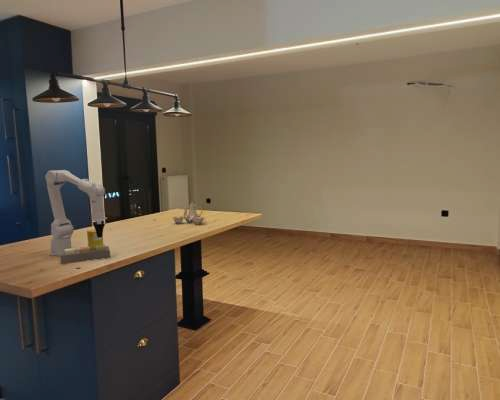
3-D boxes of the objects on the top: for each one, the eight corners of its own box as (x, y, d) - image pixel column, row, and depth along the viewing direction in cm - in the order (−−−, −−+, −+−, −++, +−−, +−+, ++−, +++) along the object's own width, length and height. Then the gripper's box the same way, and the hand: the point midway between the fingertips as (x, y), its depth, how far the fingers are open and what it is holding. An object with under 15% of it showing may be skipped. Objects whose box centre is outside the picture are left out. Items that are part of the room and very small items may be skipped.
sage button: (95, 251, 193) (95, 245, 192) (105, 250, 194) (104, 244, 194) (96, 253, 189) (95, 247, 188) (105, 252, 190) (105, 246, 190)
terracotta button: (80, 253, 190) (80, 247, 190) (90, 252, 192) (89, 246, 191) (80, 255, 186) (80, 249, 186) (90, 254, 188) (90, 248, 187)
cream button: (65, 255, 187) (64, 249, 187) (75, 253, 189) (74, 248, 188) (64, 257, 183) (64, 250, 183) (75, 255, 185) (74, 249, 184)
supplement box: (98, 248, 212) (97, 228, 211) (104, 249, 208) (102, 229, 207) (88, 250, 207) (86, 230, 206) (93, 251, 204) (92, 231, 202)
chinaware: (169, 227, 284) (167, 205, 281) (179, 221, 300) (177, 200, 296) (203, 228, 276) (201, 205, 272) (212, 222, 291) (210, 200, 288)
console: (61, 259, 189) (61, 250, 189) (108, 253, 198) (108, 245, 198) (61, 264, 180) (60, 255, 180) (110, 257, 189) (109, 249, 188)
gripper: (107, 210, 184) (109, 238, 186) (105, 207, 198) (107, 233, 199) (91, 211, 182) (93, 239, 183) (90, 208, 195) (92, 234, 196)
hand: (99, 236), depth 191 cm, fingers open, 5 cm apart
